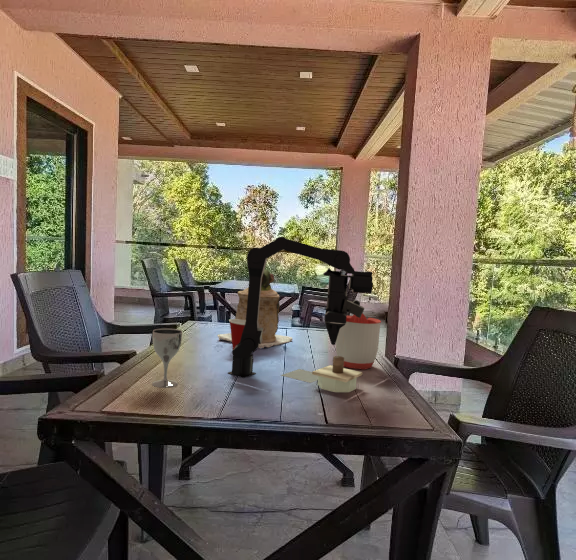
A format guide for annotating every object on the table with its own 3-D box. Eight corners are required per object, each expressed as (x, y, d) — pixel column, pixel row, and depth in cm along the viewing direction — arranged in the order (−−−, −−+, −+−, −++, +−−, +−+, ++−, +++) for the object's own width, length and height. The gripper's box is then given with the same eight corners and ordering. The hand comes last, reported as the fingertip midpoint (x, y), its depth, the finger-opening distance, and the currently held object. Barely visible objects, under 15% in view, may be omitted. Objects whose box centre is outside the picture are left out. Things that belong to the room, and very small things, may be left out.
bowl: (344, 395, 130) (345, 381, 130) (312, 387, 136) (313, 374, 136) (359, 387, 139) (360, 374, 139) (329, 380, 144) (330, 368, 144)
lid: (345, 382, 129) (347, 364, 129) (312, 374, 136) (313, 356, 135) (362, 374, 139) (363, 357, 138) (330, 367, 145) (331, 351, 144)
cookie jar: (264, 350, 182) (270, 268, 180) (214, 340, 193) (219, 264, 191) (294, 341, 203) (299, 268, 201) (247, 332, 215) (252, 264, 213)
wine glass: (149, 380, 132) (151, 328, 131) (177, 379, 135) (180, 328, 134) (151, 388, 125) (154, 333, 124) (181, 387, 128) (184, 333, 127)
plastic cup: (259, 355, 172) (261, 323, 172) (231, 355, 168) (233, 323, 168) (250, 348, 182) (252, 318, 182) (223, 348, 178) (225, 318, 178)
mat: (310, 384, 139) (310, 382, 139) (280, 376, 145) (280, 375, 145) (328, 377, 149) (328, 375, 148) (299, 370, 155) (299, 368, 155)
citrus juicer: (379, 362, 173) (383, 309, 172) (375, 374, 156) (380, 315, 155) (338, 357, 177) (341, 305, 176) (329, 367, 160) (334, 310, 159)
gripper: (366, 296, 132) (361, 350, 133) (361, 291, 150) (357, 338, 151) (326, 293, 133) (322, 347, 134) (327, 288, 151) (323, 335, 152)
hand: (333, 341), depth 143 cm, fingers open, 9 cm apart
